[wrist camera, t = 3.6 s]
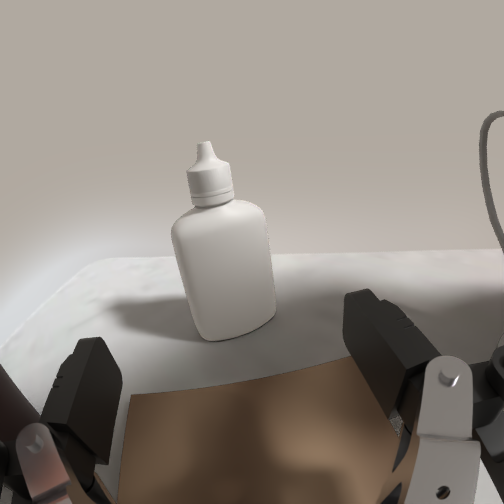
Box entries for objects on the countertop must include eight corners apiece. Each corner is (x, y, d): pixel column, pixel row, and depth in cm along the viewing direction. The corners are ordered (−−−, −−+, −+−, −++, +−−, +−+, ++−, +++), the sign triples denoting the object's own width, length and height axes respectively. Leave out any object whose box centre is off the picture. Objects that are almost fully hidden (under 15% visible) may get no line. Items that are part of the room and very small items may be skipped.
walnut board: (350, 367, 15) (352, 355, 14) (421, 503, 7) (429, 496, 6) (138, 405, 14) (131, 394, 14) (127, 553, 6) (115, 549, 5)
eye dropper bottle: (203, 305, 23) (168, 147, 17) (276, 300, 22) (256, 133, 17) (191, 343, 19) (141, 156, 14) (277, 340, 18) (253, 137, 13)
